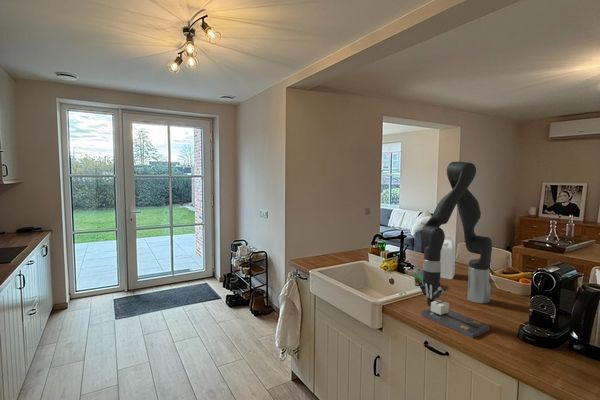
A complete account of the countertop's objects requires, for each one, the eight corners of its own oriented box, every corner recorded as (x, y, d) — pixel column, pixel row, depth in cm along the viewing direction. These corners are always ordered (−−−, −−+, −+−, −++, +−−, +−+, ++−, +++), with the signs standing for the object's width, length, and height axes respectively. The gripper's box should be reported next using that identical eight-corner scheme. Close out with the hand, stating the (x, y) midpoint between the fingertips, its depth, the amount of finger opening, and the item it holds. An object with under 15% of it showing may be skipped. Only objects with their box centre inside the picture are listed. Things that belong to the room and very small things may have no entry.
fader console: (421, 315, 146) (421, 311, 146) (437, 309, 153) (437, 305, 152) (472, 338, 126) (472, 333, 126) (489, 330, 132) (489, 325, 132)
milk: (454, 274, 207) (456, 234, 205) (452, 279, 197) (453, 237, 195) (434, 271, 213) (436, 232, 211) (431, 275, 203) (432, 235, 201)
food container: (421, 289, 180) (422, 271, 179) (413, 285, 185) (413, 268, 184) (436, 285, 186) (437, 268, 185) (427, 282, 191) (428, 266, 190)
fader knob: (430, 310, 145) (430, 302, 145) (438, 307, 149) (439, 299, 148) (440, 314, 141) (440, 305, 141) (448, 311, 144) (449, 303, 144)
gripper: (414, 266, 151) (413, 302, 153) (439, 274, 140) (438, 312, 141) (424, 264, 155) (423, 299, 156) (449, 271, 144) (448, 308, 145)
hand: (430, 305), depth 149 cm, fingers closed
